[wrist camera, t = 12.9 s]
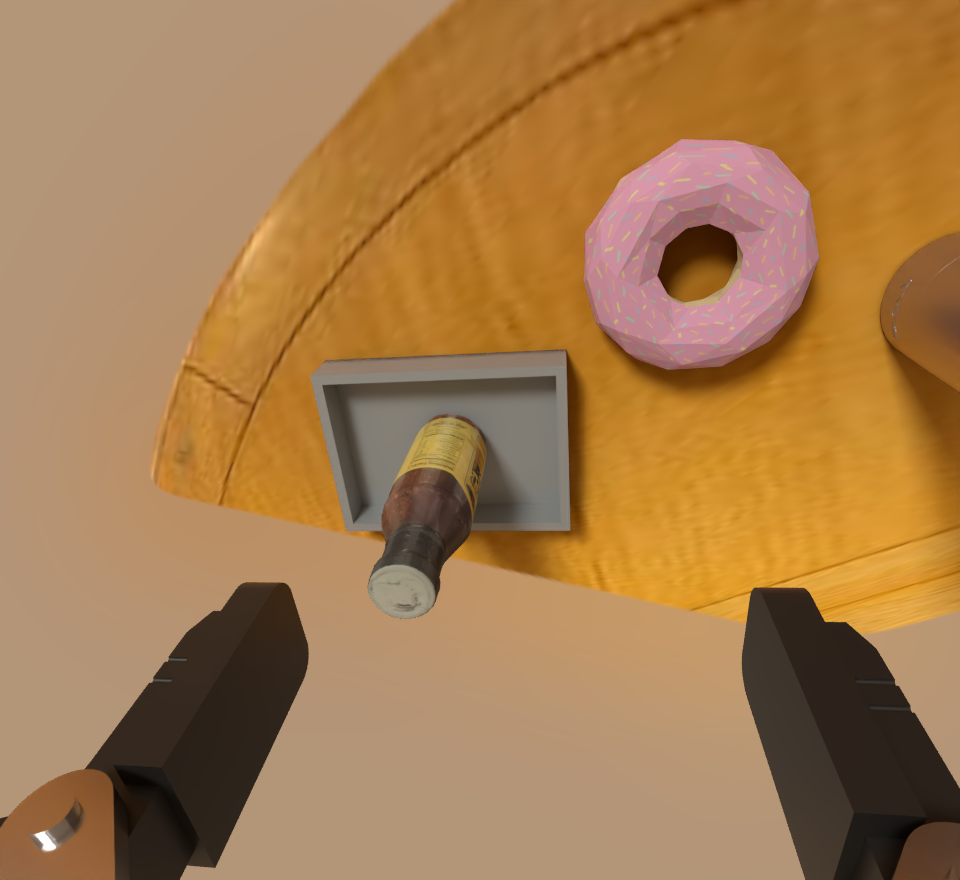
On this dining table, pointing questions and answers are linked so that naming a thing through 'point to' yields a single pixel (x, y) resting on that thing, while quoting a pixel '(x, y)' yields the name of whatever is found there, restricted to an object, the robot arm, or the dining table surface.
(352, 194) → the dining table surface
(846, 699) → the robot arm
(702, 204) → the donut
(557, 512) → the tray
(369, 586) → the sauce bottle
